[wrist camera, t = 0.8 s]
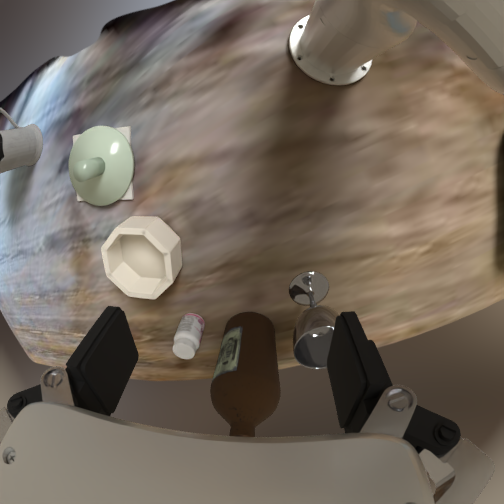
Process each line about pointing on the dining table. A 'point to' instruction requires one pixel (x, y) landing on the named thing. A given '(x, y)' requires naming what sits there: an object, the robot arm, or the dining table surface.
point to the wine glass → (312, 320)
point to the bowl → (142, 256)
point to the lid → (101, 165)
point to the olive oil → (246, 374)
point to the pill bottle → (188, 336)
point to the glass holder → (19, 145)
